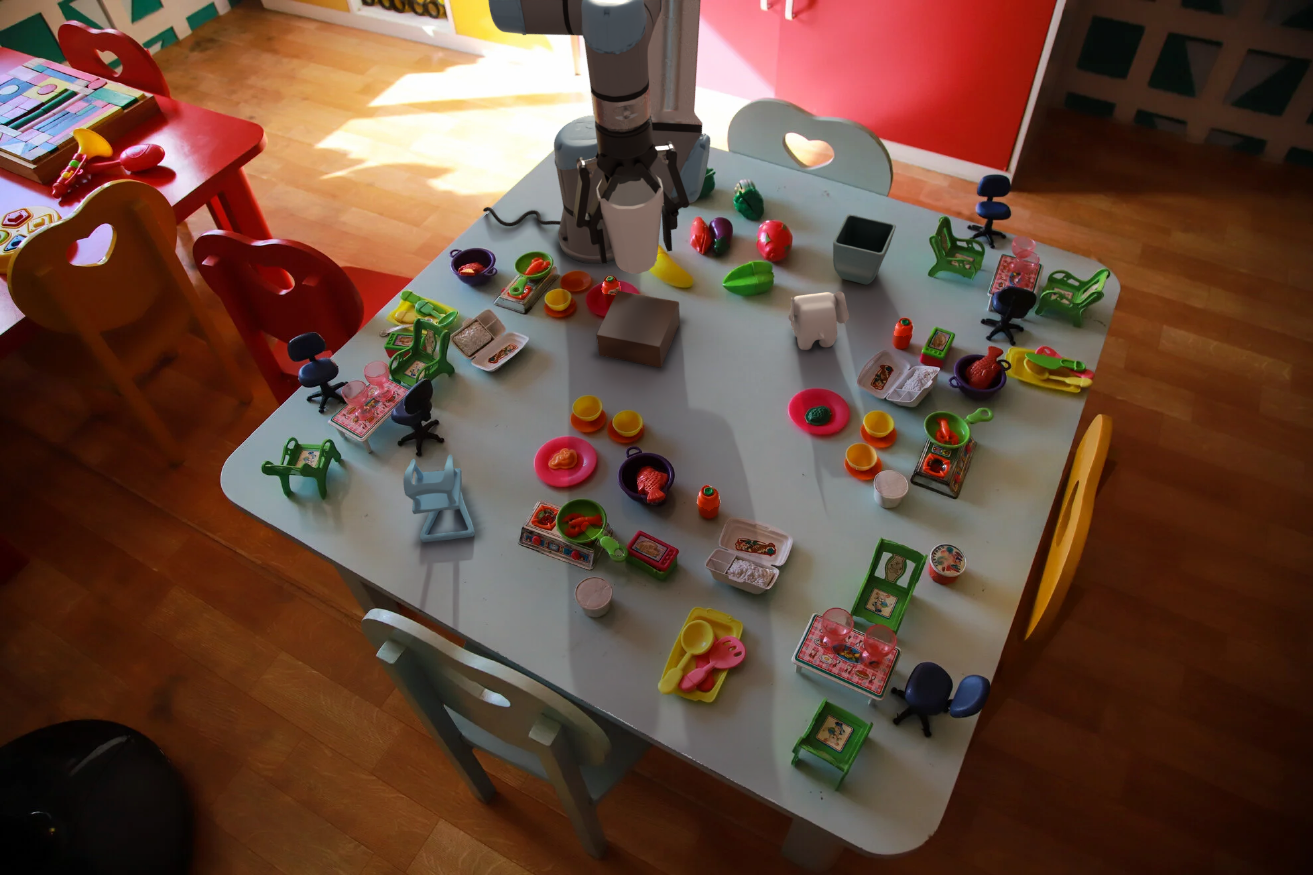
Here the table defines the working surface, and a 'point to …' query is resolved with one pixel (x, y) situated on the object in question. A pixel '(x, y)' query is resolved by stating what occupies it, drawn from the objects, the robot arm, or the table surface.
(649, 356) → the block
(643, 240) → the foam cup
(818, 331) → the elephant figurine
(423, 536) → the chair
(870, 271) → the flower pot
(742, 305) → the table surface
